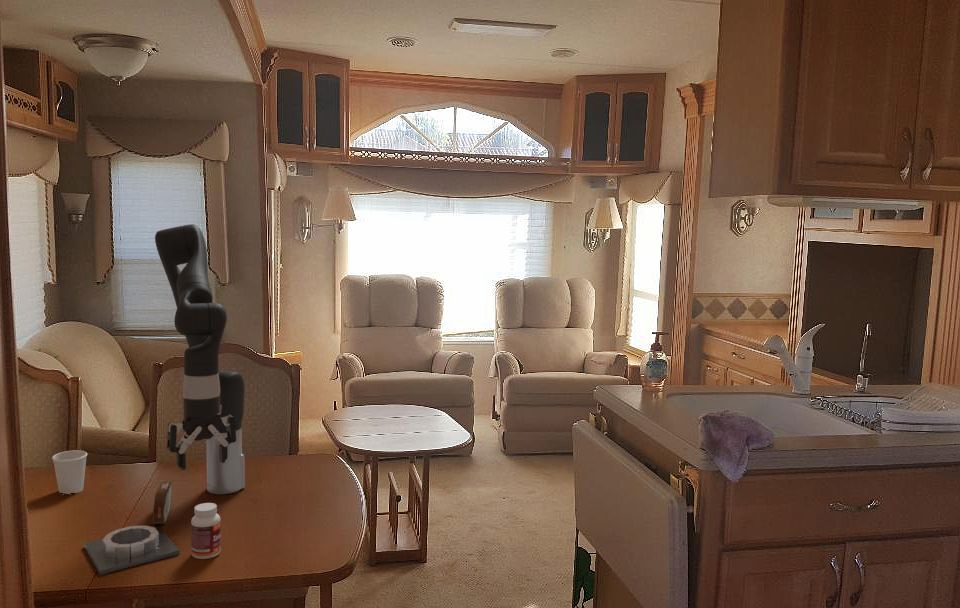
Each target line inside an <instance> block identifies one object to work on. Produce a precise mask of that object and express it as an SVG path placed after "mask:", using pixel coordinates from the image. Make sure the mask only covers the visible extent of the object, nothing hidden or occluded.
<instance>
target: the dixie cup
mask: <svg viewBox="0 0 960 608" xmlns="http://www.w3.org/2000/svg"><path fill="white" fill-rule="evenodd" d="M87 456H88V453H87V452H86V451H84V450H81V449H80V450H77V449H76V450H67V451H62V452H61V451H60V452H59V453H56V454H54V455H52V457H51V460H52V462H53V465H54V467H53V468H54V471H55V477H56V482H57V489H58V492H60V493H66V494H69V495H71V494H70V493H75V494H77V493H78V494H79V493H81V492H82V491H83V490H84V483H85V476H86V475H85V474H86V473H85V472H86V466H87V465H86V463H87ZM60 493H59V494H60Z"/></svg>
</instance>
